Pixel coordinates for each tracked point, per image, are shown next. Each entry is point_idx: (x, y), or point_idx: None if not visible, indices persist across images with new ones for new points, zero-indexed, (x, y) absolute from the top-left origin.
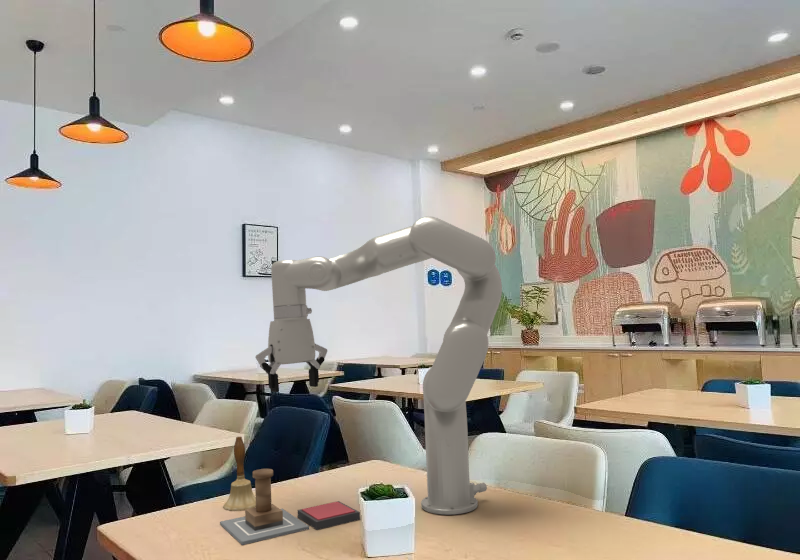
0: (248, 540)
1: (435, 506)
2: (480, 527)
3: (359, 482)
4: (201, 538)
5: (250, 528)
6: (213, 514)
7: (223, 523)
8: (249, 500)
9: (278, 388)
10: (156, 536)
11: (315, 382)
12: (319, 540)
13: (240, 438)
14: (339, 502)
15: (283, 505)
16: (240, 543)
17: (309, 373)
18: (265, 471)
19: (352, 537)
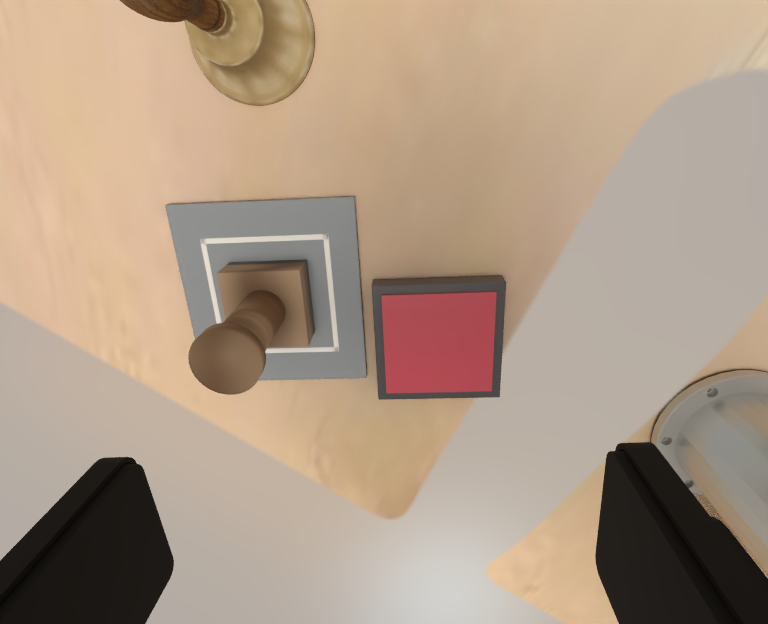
0: None
1: (674, 452)
2: None
3: (742, 19)
4: (120, 282)
5: None
6: (154, 84)
7: (173, 228)
8: (266, 84)
9: (158, 594)
10: (3, 195)
11: (620, 607)
12: (360, 442)
13: None
14: (500, 295)
15: (376, 137)
16: None
17: (697, 615)
18: (233, 372)
19: (425, 464)
